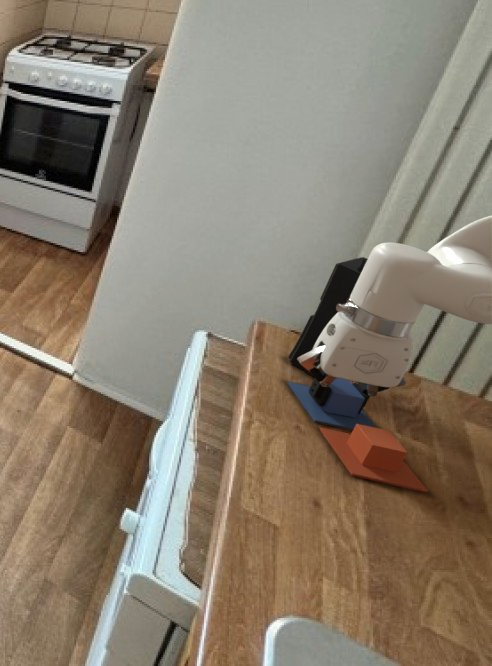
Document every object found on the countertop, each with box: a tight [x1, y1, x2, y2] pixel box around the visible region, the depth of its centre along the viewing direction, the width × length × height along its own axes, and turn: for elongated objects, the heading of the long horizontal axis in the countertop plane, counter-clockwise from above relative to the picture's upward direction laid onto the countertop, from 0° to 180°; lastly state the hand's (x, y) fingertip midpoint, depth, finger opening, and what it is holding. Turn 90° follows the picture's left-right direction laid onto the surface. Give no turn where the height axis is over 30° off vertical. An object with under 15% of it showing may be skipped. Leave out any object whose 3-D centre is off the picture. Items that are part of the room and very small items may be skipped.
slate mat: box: [287, 381, 377, 431], centre depth 103 cm, size 9×9×1 cm
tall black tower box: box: [288, 256, 368, 377], centre depth 107 cm, size 8×6×25 cm
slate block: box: [321, 378, 365, 418], centre depth 102 cm, size 4×4×4 cm
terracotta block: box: [347, 424, 408, 473], centre depth 92 cm, size 4×4×4 cm
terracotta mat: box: [319, 427, 429, 494], centre depth 93 cm, size 9×9×1 cm
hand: (333, 402), depth 102 cm, fingers closed on slate block, 4 cm apart
